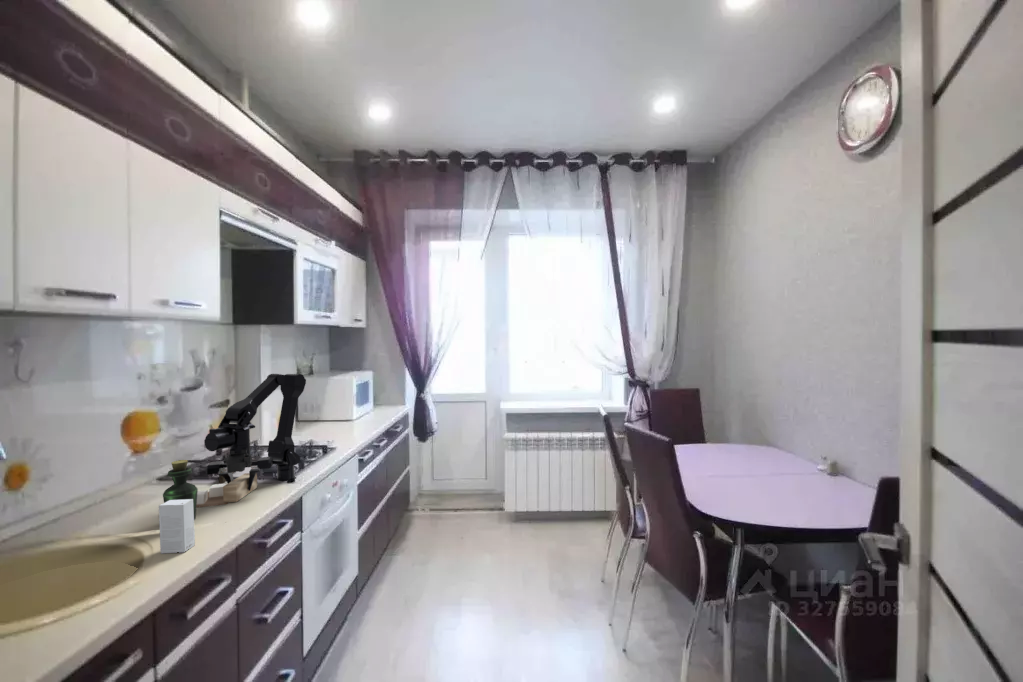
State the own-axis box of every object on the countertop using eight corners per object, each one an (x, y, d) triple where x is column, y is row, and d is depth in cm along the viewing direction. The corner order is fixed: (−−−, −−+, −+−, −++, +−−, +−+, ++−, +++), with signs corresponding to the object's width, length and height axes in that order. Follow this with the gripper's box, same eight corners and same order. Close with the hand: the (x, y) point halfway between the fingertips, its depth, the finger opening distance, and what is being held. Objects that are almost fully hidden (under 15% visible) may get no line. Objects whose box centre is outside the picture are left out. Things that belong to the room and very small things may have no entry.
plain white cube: (212, 493, 157) (212, 484, 157) (226, 492, 158) (226, 483, 158) (209, 497, 153) (209, 488, 153) (223, 495, 154) (223, 486, 154)
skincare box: (195, 545, 120) (194, 498, 120) (184, 553, 116) (183, 504, 116) (171, 546, 120) (169, 499, 120) (159, 553, 115) (157, 505, 115)
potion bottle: (169, 533, 128) (167, 467, 127) (159, 526, 133) (157, 462, 132) (203, 523, 134) (201, 460, 134) (192, 517, 139) (190, 456, 139)
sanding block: (245, 487, 162) (244, 473, 162) (257, 487, 162) (256, 472, 162) (223, 502, 148) (223, 486, 148) (236, 501, 148) (236, 486, 148)
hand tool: (225, 474, 184) (224, 462, 184) (236, 472, 185) (236, 461, 185) (212, 489, 166) (211, 476, 166) (225, 487, 167) (224, 474, 167)
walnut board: (191, 496, 157) (191, 493, 157) (238, 491, 162) (238, 488, 162) (174, 513, 142) (174, 510, 142) (227, 507, 147) (227, 503, 147)
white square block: (193, 501, 150) (192, 491, 150) (207, 499, 151) (207, 490, 151) (189, 505, 146) (188, 495, 146) (204, 503, 147) (203, 494, 147)
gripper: (199, 452, 144) (201, 503, 144) (267, 446, 150) (268, 495, 150) (209, 444, 155) (211, 491, 155) (272, 439, 161) (273, 484, 161)
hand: (241, 491), depth 155 cm, fingers closed on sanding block, 5 cm apart
